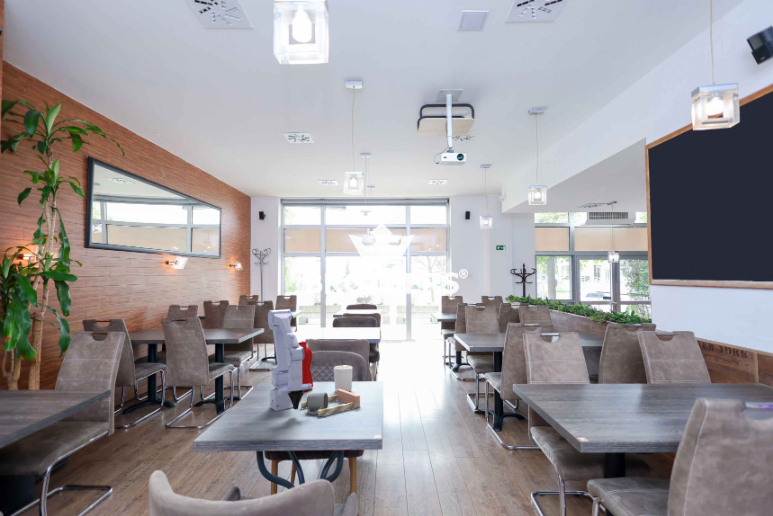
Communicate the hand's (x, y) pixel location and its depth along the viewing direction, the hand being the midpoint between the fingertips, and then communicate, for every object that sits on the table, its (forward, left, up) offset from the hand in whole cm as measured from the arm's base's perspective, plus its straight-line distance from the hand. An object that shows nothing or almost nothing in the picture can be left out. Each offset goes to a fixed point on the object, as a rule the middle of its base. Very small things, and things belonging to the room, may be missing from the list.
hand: (295, 408), depth 180 cm
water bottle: (+22, +37, -3) cm, 43 cm away
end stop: (+26, 0, -3) cm, 27 cm away
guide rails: (+16, 0, -3) cm, 16 cm away
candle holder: (+37, +20, -3) cm, 42 cm away
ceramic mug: (+10, -1, -3) cm, 10 cm away
